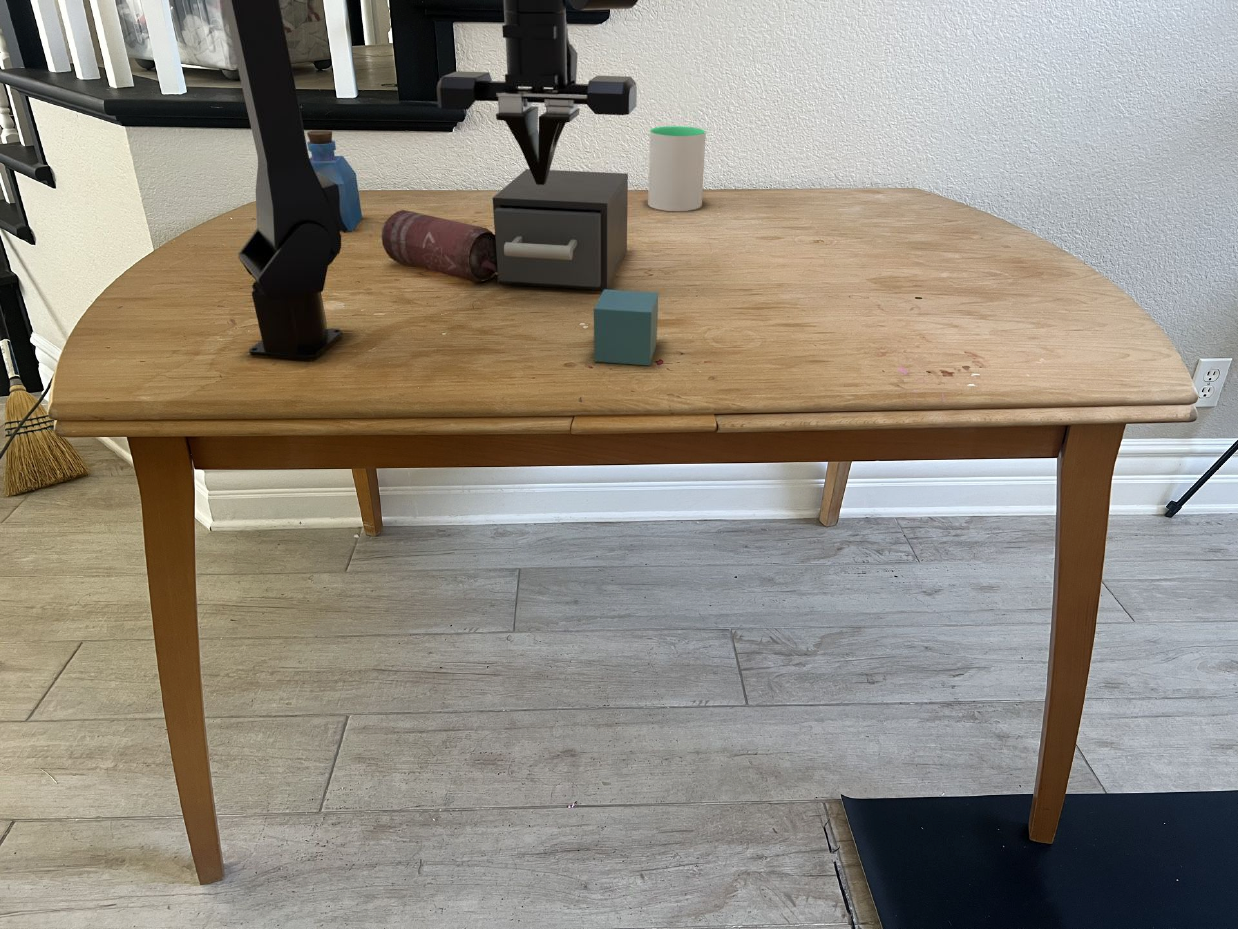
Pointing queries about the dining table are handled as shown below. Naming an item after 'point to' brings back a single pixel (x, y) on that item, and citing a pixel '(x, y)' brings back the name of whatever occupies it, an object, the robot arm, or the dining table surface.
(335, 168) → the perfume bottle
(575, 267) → the drawer
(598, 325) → the block
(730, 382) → the dining table surface
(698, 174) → the mug
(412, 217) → the can
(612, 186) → the cabinet
